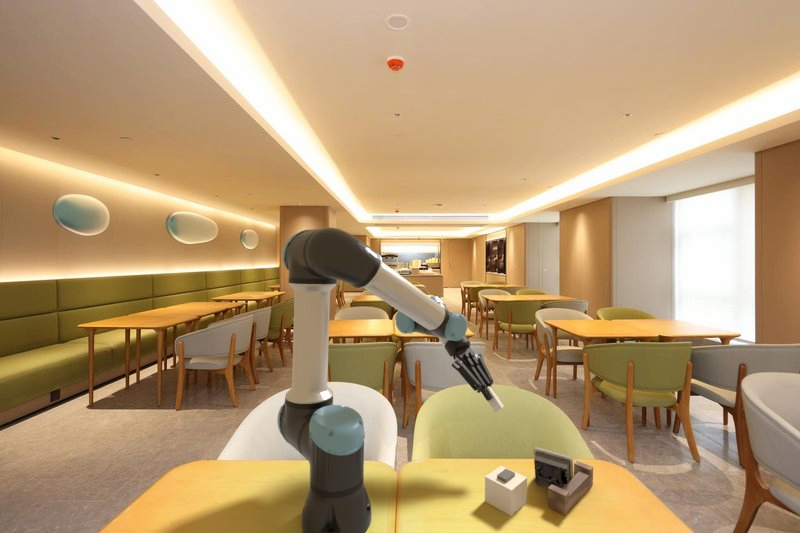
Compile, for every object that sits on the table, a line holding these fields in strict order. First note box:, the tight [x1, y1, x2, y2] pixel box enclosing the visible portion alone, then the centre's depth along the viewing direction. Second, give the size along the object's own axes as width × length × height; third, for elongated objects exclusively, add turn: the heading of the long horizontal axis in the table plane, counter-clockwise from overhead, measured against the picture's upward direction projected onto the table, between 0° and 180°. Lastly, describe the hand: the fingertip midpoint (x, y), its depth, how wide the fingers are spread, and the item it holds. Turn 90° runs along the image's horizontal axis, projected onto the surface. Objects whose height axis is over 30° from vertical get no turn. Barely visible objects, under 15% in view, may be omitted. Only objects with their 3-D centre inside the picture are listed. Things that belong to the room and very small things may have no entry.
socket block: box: [484, 465, 528, 517], centre depth 88 cm, size 7×7×7 cm
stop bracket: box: [547, 460, 594, 516], centre depth 90 cm, size 4×17×4 cm, turn 133°
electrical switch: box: [533, 446, 574, 489], centre depth 93 cm, size 9×5×9 cm, turn 56°
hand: (499, 409), depth 102 cm, fingers closed
